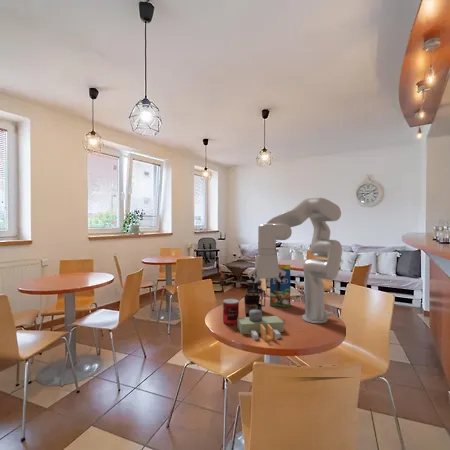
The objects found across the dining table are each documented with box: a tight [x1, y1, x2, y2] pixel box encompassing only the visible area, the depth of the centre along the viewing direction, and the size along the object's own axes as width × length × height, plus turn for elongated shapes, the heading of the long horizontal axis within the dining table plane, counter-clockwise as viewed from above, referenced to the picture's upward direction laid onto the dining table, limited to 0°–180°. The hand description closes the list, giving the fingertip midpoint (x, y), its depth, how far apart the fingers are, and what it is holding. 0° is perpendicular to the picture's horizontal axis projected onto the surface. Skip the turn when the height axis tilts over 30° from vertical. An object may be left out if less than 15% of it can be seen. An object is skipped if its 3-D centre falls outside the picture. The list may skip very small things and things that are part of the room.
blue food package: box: [269, 264, 291, 308], centre depth 172 cm, size 6×12×25 cm, turn 80°
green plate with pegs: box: [236, 309, 285, 341], centre depth 129 cm, size 20×16×8 cm
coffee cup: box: [243, 292, 261, 317], centre depth 148 cm, size 9×8×13 cm
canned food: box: [222, 298, 240, 326], centre depth 142 cm, size 8×8×11 cm
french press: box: [245, 273, 266, 312], centre depth 161 cm, size 12×9×23 cm
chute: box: [259, 324, 274, 342], centre depth 123 cm, size 4×6×5 cm, turn 8°
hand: (266, 291), depth 123 cm, fingers open, 9 cm apart
